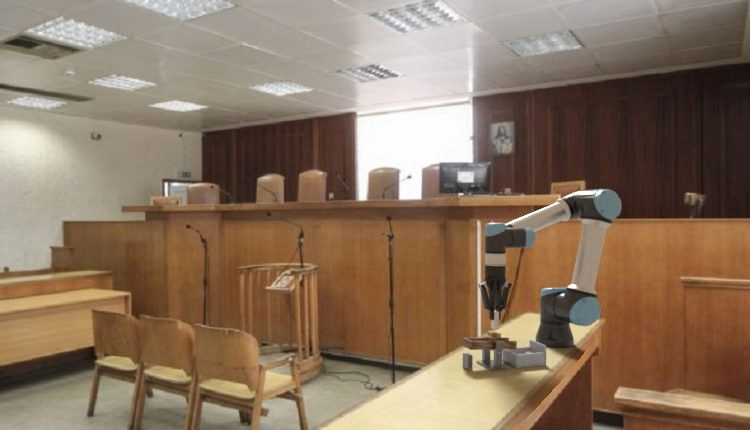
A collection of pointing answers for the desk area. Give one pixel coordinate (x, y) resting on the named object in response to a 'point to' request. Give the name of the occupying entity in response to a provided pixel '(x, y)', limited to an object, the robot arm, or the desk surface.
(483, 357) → the fulcrum
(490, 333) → the lever
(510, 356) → the bin
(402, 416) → the desk surface
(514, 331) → the desk surface
